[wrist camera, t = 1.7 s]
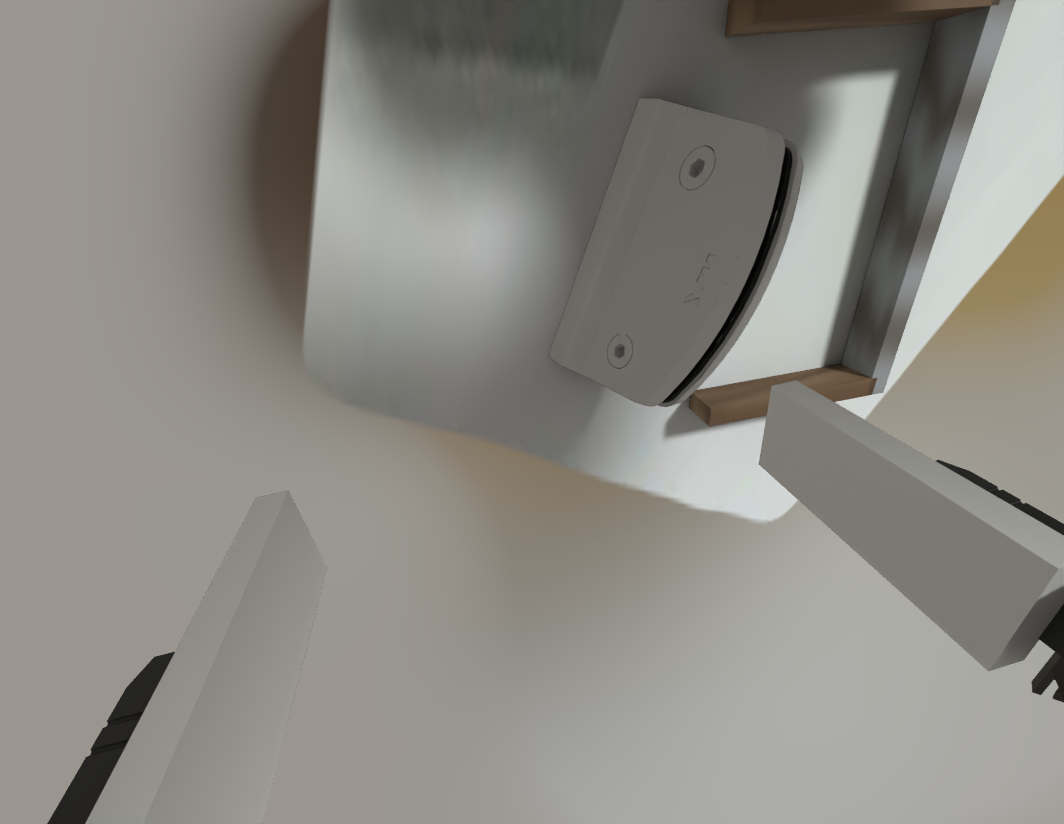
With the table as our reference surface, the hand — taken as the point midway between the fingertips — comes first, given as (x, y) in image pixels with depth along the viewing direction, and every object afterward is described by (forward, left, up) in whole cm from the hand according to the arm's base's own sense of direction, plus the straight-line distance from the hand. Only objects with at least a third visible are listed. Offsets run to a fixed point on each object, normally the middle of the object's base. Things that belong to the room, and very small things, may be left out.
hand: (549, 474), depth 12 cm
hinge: (-1, +11, -20) cm, 22 cm away
